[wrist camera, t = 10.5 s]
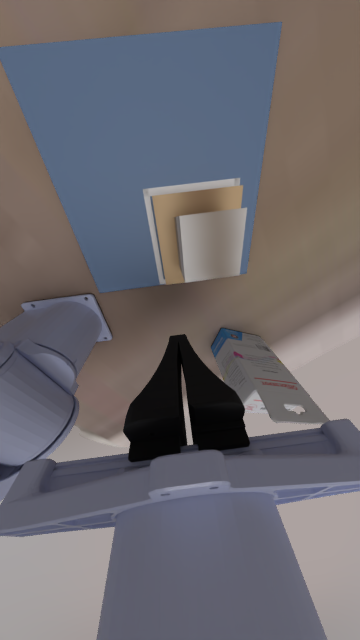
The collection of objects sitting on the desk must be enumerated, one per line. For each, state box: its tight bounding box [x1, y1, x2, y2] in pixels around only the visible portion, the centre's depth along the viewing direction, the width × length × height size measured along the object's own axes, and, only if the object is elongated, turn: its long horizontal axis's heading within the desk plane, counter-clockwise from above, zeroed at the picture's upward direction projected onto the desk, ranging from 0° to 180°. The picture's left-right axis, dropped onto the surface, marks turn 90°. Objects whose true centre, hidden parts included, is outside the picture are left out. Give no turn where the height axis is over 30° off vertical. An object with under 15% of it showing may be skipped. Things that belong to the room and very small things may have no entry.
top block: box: [174, 208, 247, 283], centre depth 13 cm, size 4×4×5 cm
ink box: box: [211, 328, 330, 424], centre depth 22 cm, size 8×5×15 cm, turn 72°
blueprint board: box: [0, 22, 282, 293], centre depth 16 cm, size 20×18×1 cm
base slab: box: [152, 185, 243, 285], centre depth 17 cm, size 8×8×3 cm
